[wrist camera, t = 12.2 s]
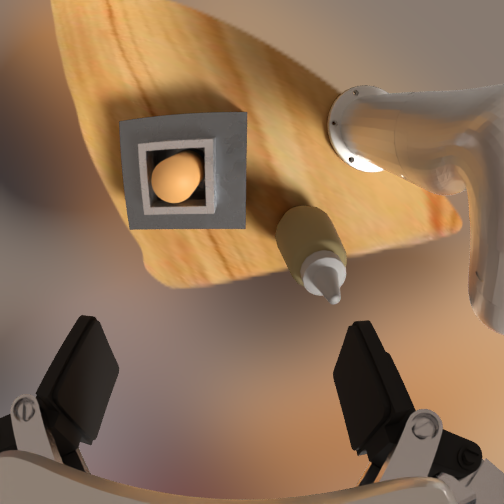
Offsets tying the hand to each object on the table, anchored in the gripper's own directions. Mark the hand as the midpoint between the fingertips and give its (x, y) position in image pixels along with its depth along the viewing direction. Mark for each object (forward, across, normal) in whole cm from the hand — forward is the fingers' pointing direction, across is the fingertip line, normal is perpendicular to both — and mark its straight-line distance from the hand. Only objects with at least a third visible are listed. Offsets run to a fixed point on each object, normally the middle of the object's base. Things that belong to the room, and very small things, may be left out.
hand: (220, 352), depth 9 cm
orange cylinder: (+27, +6, -2) cm, 28 cm away
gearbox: (+30, +6, -2) cm, 31 cm away
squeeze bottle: (+31, -9, +7) cm, 33 cm away
